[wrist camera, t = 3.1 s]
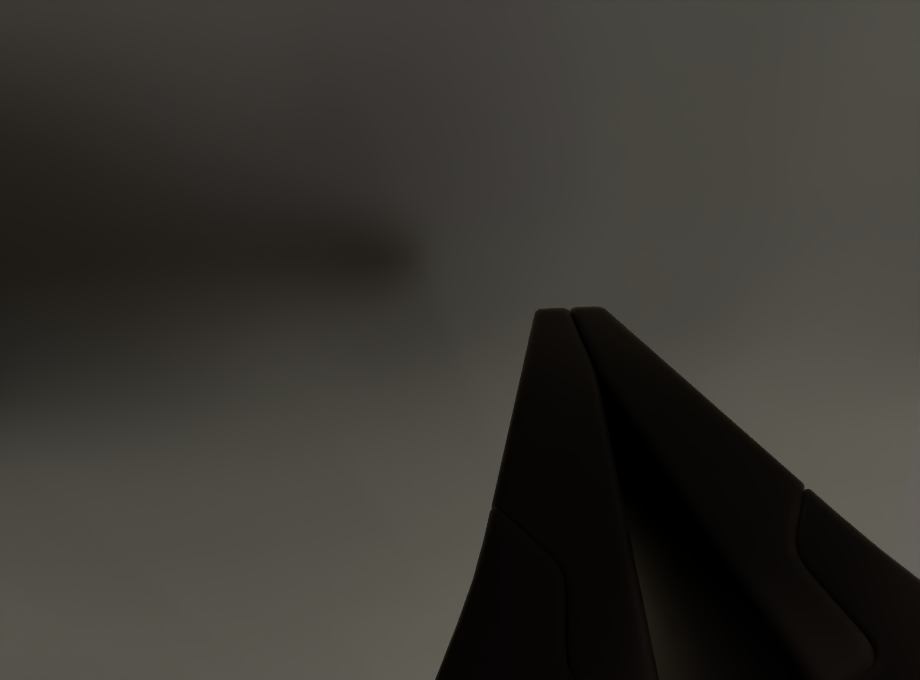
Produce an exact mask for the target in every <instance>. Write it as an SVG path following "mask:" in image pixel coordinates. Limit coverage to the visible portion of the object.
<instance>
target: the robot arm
mask: <svg viewBox="0 0 920 680" xmlns="http://www.w3.org/2000/svg"><path fill="white" fill-rule="evenodd" d="M435 680H920V579H918V578H917V577H916V576H914V575H913V574H912V573H910V572H909V571H908V570H907V569H905V568H904V567H903V566H901V565H900V564H899V563H898V562H896V561H895V560H894V559H892V558H891V557H890V556H889V555H887V554H886V553H885V552H883V551H882V550H881V549H880V548H878V547H877V546H876V545H875V544H874V543H872V542H871V541H870V540H869V539H868V538H866V537H865V536H864V535H863V534H862V533H860V532H859V531H858V530H857V529H856V528H855V527H853V526H852V525H851V524H850V523H849V522H847V521H846V520H845V519H844V518H843V517H841V516H840V515H839V514H838V513H837V512H836V511H834V510H833V509H832V508H831V507H830V506H829V505H828V504H826V503H825V502H824V501H823V500H822V499H821V498H820V497H819V496H817V495H816V494H815V493H814V492H813V491H812V490H810V489H805V490H804V484H803V483H802V482H801V481H800V480H799V479H798V478H797V477H795V476H794V475H793V474H792V473H791V472H790V471H789V470H787V469H786V468H785V467H784V466H783V465H782V464H781V463H779V462H778V461H777V460H776V459H775V458H774V457H773V456H772V455H770V454H769V453H768V452H767V451H766V450H765V449H764V448H762V447H761V446H760V445H759V444H758V443H757V442H756V441H754V440H753V439H752V438H751V437H750V436H749V435H748V434H747V433H745V432H744V431H743V430H742V429H741V428H740V427H739V426H737V425H736V424H735V423H734V422H733V421H732V420H731V419H729V418H728V417H727V416H726V415H725V414H724V413H723V412H722V411H720V410H719V409H718V408H717V407H716V406H715V405H714V404H712V403H711V402H710V401H709V400H708V399H707V398H706V397H704V396H703V395H702V394H701V393H700V392H699V391H698V390H697V389H695V388H694V387H693V386H692V385H691V384H690V383H689V382H687V381H686V380H685V379H684V378H683V377H682V376H681V375H679V374H678V373H677V372H676V371H675V370H674V369H673V368H672V367H670V366H669V365H668V364H667V363H666V362H665V361H664V360H662V359H661V358H660V357H659V356H658V355H657V354H656V353H654V352H653V351H652V350H651V349H650V348H649V347H648V346H647V345H645V344H644V343H643V342H642V341H641V340H640V339H639V338H637V337H636V336H635V335H634V334H633V333H632V332H631V331H629V330H628V329H627V328H626V327H625V326H624V325H623V324H622V323H620V322H619V321H618V320H617V319H616V318H615V317H614V316H612V315H611V314H610V313H609V312H608V311H607V310H605V309H604V308H602V307H575V308H572V309H571V310H570V311H569V310H567V309H565V308H548V309H538V310H537V311H536V312H535V315H534V319H533V324H532V328H531V333H530V337H529V341H528V346H527V350H526V355H525V359H524V364H523V368H522V373H521V377H520V382H519V386H518V391H517V395H516V399H515V404H514V408H513V413H512V417H511V422H510V426H509V431H508V435H507V440H506V444H505V449H504V453H503V457H502V462H501V466H500V471H499V475H498V480H497V484H496V489H495V493H494V498H493V502H492V510H491V511H490V514H489V518H488V523H487V527H486V532H485V536H484V540H483V544H482V548H481V551H480V555H479V559H478V563H477V566H476V570H475V574H474V577H473V581H472V584H471V586H470V589H469V592H468V595H467V598H466V600H465V603H464V606H463V609H462V612H461V615H460V617H459V620H458V623H457V626H456V628H455V631H454V633H453V636H452V638H451V641H450V643H449V646H448V648H447V651H446V654H445V656H444V659H443V661H442V664H441V666H440V669H439V671H438V674H437V676H436V679H435Z"/></svg>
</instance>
